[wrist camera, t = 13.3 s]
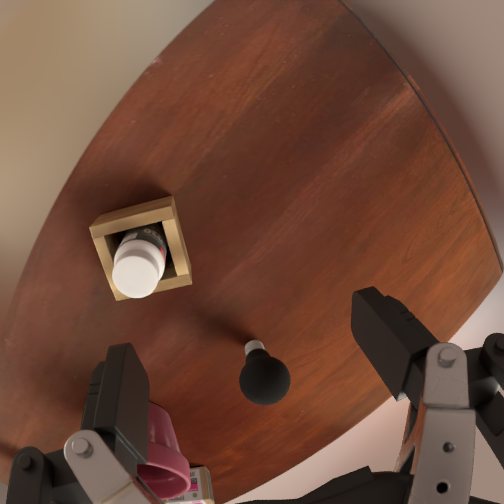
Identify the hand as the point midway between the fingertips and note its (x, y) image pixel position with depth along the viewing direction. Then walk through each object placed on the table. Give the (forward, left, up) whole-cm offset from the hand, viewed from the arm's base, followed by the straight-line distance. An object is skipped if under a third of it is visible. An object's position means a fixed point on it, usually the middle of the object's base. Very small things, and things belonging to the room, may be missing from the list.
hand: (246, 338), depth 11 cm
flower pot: (+32, -18, -23) cm, 43 cm away
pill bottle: (+4, -7, -23) cm, 25 cm away
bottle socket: (+4, -7, -23) cm, 25 cm away
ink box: (+54, -18, -23) cm, 61 cm away
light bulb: (+21, +2, -23) cm, 31 cm away
